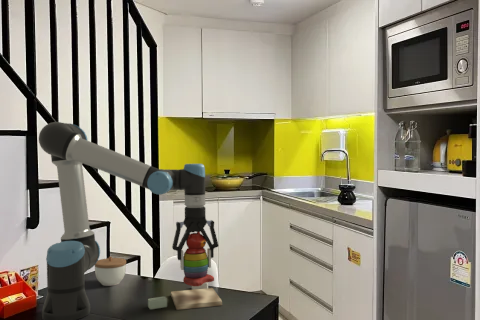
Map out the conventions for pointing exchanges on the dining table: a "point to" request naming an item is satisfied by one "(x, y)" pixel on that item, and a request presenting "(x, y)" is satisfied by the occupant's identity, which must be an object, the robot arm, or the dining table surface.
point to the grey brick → (203, 286)
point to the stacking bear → (196, 261)
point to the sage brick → (157, 302)
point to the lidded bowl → (110, 270)
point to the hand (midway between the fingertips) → (195, 267)
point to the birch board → (195, 298)
